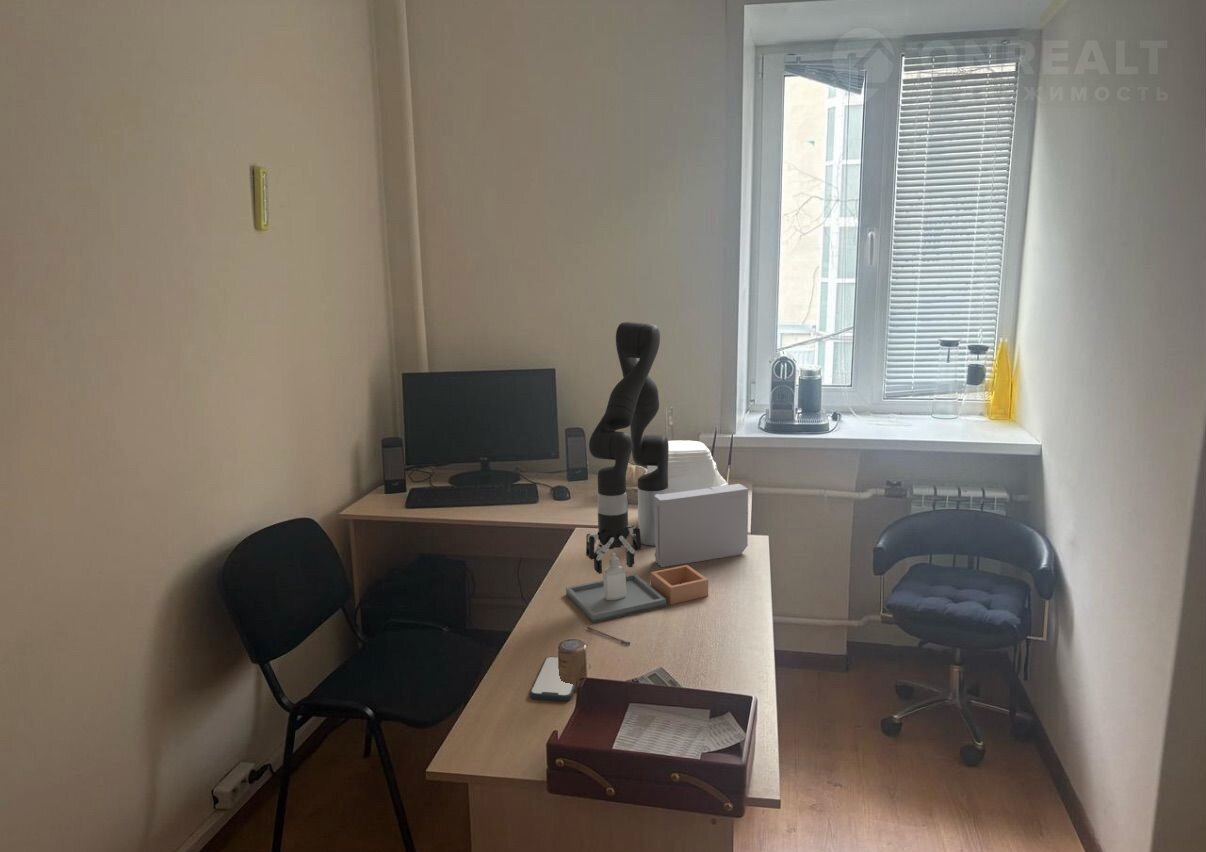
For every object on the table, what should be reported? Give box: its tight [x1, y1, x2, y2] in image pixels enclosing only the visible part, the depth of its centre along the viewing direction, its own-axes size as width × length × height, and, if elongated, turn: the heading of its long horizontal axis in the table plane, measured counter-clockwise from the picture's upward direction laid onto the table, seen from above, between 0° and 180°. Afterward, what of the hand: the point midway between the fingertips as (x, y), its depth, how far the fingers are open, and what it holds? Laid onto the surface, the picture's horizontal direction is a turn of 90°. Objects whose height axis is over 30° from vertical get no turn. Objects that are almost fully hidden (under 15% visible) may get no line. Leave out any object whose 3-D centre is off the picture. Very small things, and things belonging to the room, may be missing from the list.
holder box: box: [650, 564, 709, 605], centre depth 207 cm, size 11×11×4 cm
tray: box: [565, 573, 667, 624], centre depth 204 cm, size 18×20×2 cm
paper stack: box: [646, 439, 729, 493], centre depth 257 cm, size 21×27×26 cm
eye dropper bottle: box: [602, 552, 627, 600], centre depth 202 cm, size 4×6×12 cm
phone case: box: [529, 656, 576, 703], centre depth 167 cm, size 9×2×16 cm
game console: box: [654, 483, 749, 568], centre depth 228 cm, size 6×27×20 cm, turn 108°
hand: (614, 569), depth 202 cm, fingers open, 8 cm apart
